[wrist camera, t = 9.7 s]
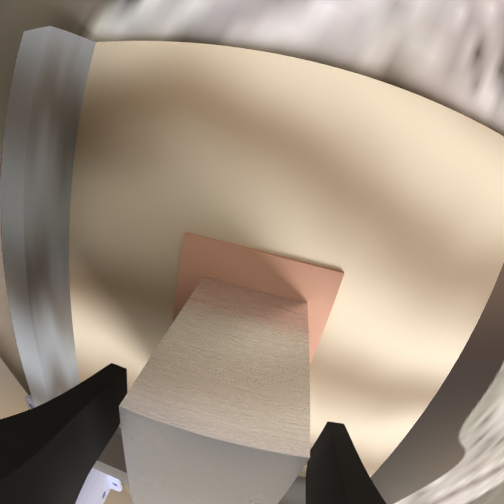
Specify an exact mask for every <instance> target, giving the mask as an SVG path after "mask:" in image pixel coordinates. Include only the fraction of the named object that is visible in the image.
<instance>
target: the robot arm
mask: <svg viewBox="0 0 504 504" xmlns="http://www.w3.org/2000/svg"><path fill="white" fill-rule="evenodd" d="M127 393H128V391H127V369H126V368H124V367H121V366H118V365H116V364H113V363H111V364H109V365H107V366H106V367H104V368H103V369H101V370H100V371H98V372H97V373H95V374H94V375H92V376H91V377H89V378H87V379H86V380H84V381H83V382H81V383H80V384H78V385H76V386H75V387H73V388H71V389H70V390H68V391H66V392H64V393H63V394H61V395H59V396H57V397H55V398H53V399H51V400H49V401H47V402H46V403H43V404H41V405H39V406H37V407H35V405H34V402H33V399H32V396H31V395H27V396H26V401H27V404H28V407H29V410H28V411H25V412H22V413H19V414H16V415H13V416H10V417H7V418H4V419H0V504H103V503H104V501H105V499H106V496H107V495H108V493H109V491H110V489H114V490H116V491H119V492H120V491H121V490H122V484H121V480H119V479H116V478H114V477H112V476H109V475H107V474H105V473H103V472H100V471H98V470H96V469H94V468H92V467H93V466H94V464H95V463H96V461H97V460H98V458H99V456H100V455H101V453H102V452H103V450H104V449H105V447H106V446H107V444H108V442H109V441H110V439H111V438H112V436H113V435H114V433H115V431H116V430H117V428H118V426H119V424H120V414H119V405H120V404H121V402H122V401H123V399H124V397H125V396H126V394H127ZM306 504H386V503H385V501H384V500H383V498H382V497H381V495H380V493H379V492H378V490H377V489H376V487H375V485H374V484H373V482H372V480H371V478H370V476H369V474H368V473H367V471H366V469H365V467H364V465H363V463H362V461H361V459H360V457H359V455H358V453H357V451H356V449H355V446H354V444H353V442H352V440H351V438H350V435H349V433H348V431H347V429H346V427H345V425H344V424H343V423H336V422H329V421H328V422H327V423H326V425H325V427H324V428H323V430H322V432H321V433H320V435H319V437H318V438H317V440H316V442H315V443H314V445H313V447H312V448H311V450H310V459H309V460H308V462H307V469H306Z"/></svg>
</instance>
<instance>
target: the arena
mask: <svg viewBox="0 0 504 504" xmlns="http://www.w3.org/2000/svg"><path fill="white" fill-rule="evenodd" d="M0 217H1V239H2V252H3V263H4V272H5V280H6V288H7V295H8V301H9V307H10V313H11V318H12V323H13V328H14V333H15V337H16V342H17V346H18V350H19V354H20V358H21V362H22V366H23V369H24V373H25V376H26V380H27V383H28V386H29V390H30V393H31V396H32V399H33V402H34V405H35V407H37V406H39V405H41V404H43V403H46V402H47V401H49V400H51V399H53V398H55V397H57V396H59V395H61V394H63V393H64V392H66V391H68V390H70V389H71V388H73V387H75V386H76V385H78V384H80V383H81V382H83V381H84V380H86V379H87V378H89V377H91V376H92V375H94V374H95V373H97V372H98V371H100V370H101V369H103V368H104V367H106V366H107V365H109V364H111V363H113V364H116V365H118V366H121V367H124V368H126V369H127V391H129V390H130V388H131V386H132V385H133V383H134V382H135V380H136V379H137V377H138V375H139V374H140V372H141V371H142V369H143V368H144V366H145V365H146V363H147V362H148V360H149V358H150V357H151V355H152V354H153V352H154V351H155V349H156V348H157V346H158V345H159V343H160V342H161V340H162V339H163V337H164V335H165V334H166V332H167V331H168V329H169V328H170V326H171V325H172V323H173V322H174V320H175V319H176V317H177V316H178V314H179V313H180V311H181V310H182V308H183V307H184V305H185V304H186V302H187V301H188V299H189V298H190V296H191V295H192V293H193V292H194V290H195V289H196V287H197V286H198V284H199V283H200V281H201V280H202V278H203V277H204V276H206V277H210V278H213V279H217V280H221V281H225V282H229V283H233V284H236V285H240V286H244V287H248V288H252V289H256V290H260V291H264V292H268V293H272V294H276V295H280V296H284V297H288V298H292V299H296V300H300V301H305V302H307V304H308V328H309V360H310V450H311V448H312V447H313V445H314V443H315V442H316V440H317V438H318V437H319V435H320V433H321V432H322V430H323V428H324V427H325V425H326V423H327V422H328V421H329V422H336V423H343V424H344V425H345V427H346V429H347V431H348V433H349V435H350V438H351V440H352V442H353V444H354V446H355V449H356V451H357V453H358V455H359V457H360V459H361V461H362V463H363V465H364V467H365V469H366V471H367V473H368V474H369V476H370V477H371V476H372V475H373V474H374V472H375V471H376V470H377V469H378V468H379V467H380V466H381V465H382V463H383V462H384V461H385V460H386V459H387V458H388V456H389V455H390V454H391V453H392V452H393V450H394V449H395V448H396V447H397V446H398V444H399V443H400V442H401V441H402V439H403V438H404V437H405V436H406V434H407V433H408V432H409V430H410V429H411V428H412V426H413V425H414V424H415V422H416V421H417V420H418V418H419V417H420V416H421V414H422V413H423V411H424V410H425V409H426V407H427V406H428V404H429V403H430V401H431V400H432V398H433V397H434V396H435V394H436V393H437V391H438V390H439V388H440V386H441V385H442V383H443V382H444V380H445V379H446V377H447V375H448V374H449V372H450V370H451V369H452V367H453V365H454V364H455V362H456V360H457V359H458V357H459V355H460V353H461V351H462V350H463V348H464V346H465V345H466V343H467V341H468V339H469V337H470V335H471V333H472V331H473V329H474V328H475V326H476V324H477V321H478V320H479V318H480V316H481V313H482V311H483V309H484V307H485V305H486V303H487V301H488V298H489V296H490V294H491V292H492V289H493V287H494V285H495V282H496V280H497V278H498V275H499V273H500V270H501V268H502V265H503V263H504V136H502V135H501V134H499V133H497V132H495V131H493V130H492V129H490V128H488V127H486V126H484V125H482V124H480V123H478V122H476V121H474V120H472V119H471V118H468V117H466V116H464V115H462V114H460V113H458V112H456V111H454V110H452V109H450V108H447V107H445V106H443V105H441V104H438V103H436V102H434V101H431V100H429V99H427V98H424V97H422V96H419V95H417V94H414V93H412V92H409V91H407V90H404V89H401V88H399V87H396V86H393V85H390V84H388V83H385V82H382V81H379V80H376V79H373V78H370V77H367V76H363V75H360V74H357V73H354V72H350V71H347V70H343V69H340V68H336V67H332V66H329V65H325V64H321V63H317V62H313V61H308V60H304V59H299V58H295V57H290V56H285V55H280V54H275V53H269V52H264V51H258V50H251V49H245V48H237V47H230V46H221V45H212V44H201V43H189V42H171V41H106V42H95V41H92V40H89V39H87V38H84V37H81V36H79V35H76V34H73V33H70V32H68V31H65V30H62V29H59V28H56V27H53V26H46V27H41V28H36V29H32V30H27V31H24V33H23V36H22V40H21V43H20V47H19V51H18V55H17V59H16V63H15V67H14V72H13V77H12V82H11V87H10V92H9V98H8V104H7V111H6V118H5V126H4V135H3V146H2V159H1V181H0ZM92 468H94V469H96V470H98V471H100V472H103V473H105V474H107V475H109V476H112V477H114V478H116V479H119V480H121V481H123V482H126V483H128V484H129V481H128V475H127V469H126V462H125V456H124V448H123V441H122V433H121V424H119V426H118V428H117V430H116V431H115V433H114V435H113V436H112V438H111V439H110V441H109V442H108V444H107V446H106V447H105V449H104V450H103V452H102V453H101V455H100V456H99V458H98V460H97V461H96V463H95V464H94V466H93V467H92ZM306 469H307V463H306V465H305V466H304V468H303V469H302V471H301V472H300V473H299V475H298V476H297V478H296V479H295V481H294V482H293V483H292V485H291V486H290V488H289V489H288V490H287V492H286V493H285V495H284V496H283V497H282V499H281V500H280V501H279V503H278V504H306Z"/></svg>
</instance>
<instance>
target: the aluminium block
mask: <svg viewBox="0 0 504 504" xmlns="http://www.w3.org/2000/svg"><path fill="white" fill-rule="evenodd" d="M119 414H120V424H121V433H122V441H123V448H124V456H125V462H126V469H127V475H128V481H129V486H130V492H131V497H132V502H133V504H278V503H279V501H280V500H281V499H282V497H283V496H284V495H285V493H286V492H287V490H288V489H289V488H290V486H291V485H292V483H293V482H294V481H295V479H296V478H297V476H298V475H299V473H300V472H301V471H302V469H303V468H304V466H305V465H306V463H307V462H308V460H309V459H310V360H309V328H308V304H307V302H305V301H300V300H296V299H292V298H288V297H284V296H280V295H276V294H272V293H268V292H264V291H260V290H256V289H252V288H248V287H244V286H240V285H236V284H233V283H229V282H225V281H221V280H217V279H213V278H210V277H206V276H204V277H203V278H202V280H201V281H200V283H199V284H198V286H197V287H196V289H195V290H194V292H193V293H192V295H191V296H190V298H189V299H188V301H187V302H186V304H185V305H184V307H183V308H182V310H181V311H180V313H179V314H178V316H177V317H176V319H175V320H174V322H173V323H172V325H171V326H170V328H169V329H168V331H167V332H166V334H165V335H164V337H163V339H162V340H161V342H160V343H159V345H158V346H157V348H156V349H155V351H154V352H153V354H152V355H151V357H150V358H149V360H148V362H147V363H146V365H145V366H144V368H143V369H142V371H141V372H140V374H139V375H138V377H137V379H136V380H135V382H134V383H133V385H132V386H131V388H130V390H129V391H128V393H127V394H126V396H125V397H124V399H123V401H122V402H121V404H120V405H119Z"/></svg>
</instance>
